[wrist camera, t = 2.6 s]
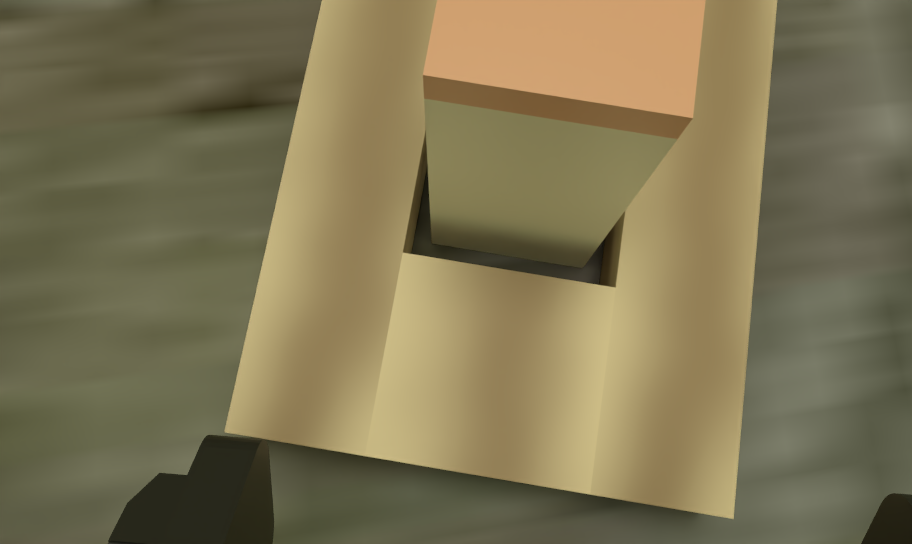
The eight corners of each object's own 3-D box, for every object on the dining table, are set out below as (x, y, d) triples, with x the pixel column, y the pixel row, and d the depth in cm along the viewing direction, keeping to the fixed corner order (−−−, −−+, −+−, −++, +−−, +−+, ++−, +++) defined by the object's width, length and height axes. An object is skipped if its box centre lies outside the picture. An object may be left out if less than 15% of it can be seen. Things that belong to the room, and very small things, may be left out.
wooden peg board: (249, 435, 25) (224, 432, 22) (360, -70, 29) (351, -128, 26) (699, 511, 25) (733, 518, 22) (747, -9, 29) (782, -62, 26)
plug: (431, 243, 27) (422, 74, 15) (451, 130, 27) (458, -112, 16) (582, 268, 26) (692, 118, 15) (597, 154, 27) (713, -73, 16)
